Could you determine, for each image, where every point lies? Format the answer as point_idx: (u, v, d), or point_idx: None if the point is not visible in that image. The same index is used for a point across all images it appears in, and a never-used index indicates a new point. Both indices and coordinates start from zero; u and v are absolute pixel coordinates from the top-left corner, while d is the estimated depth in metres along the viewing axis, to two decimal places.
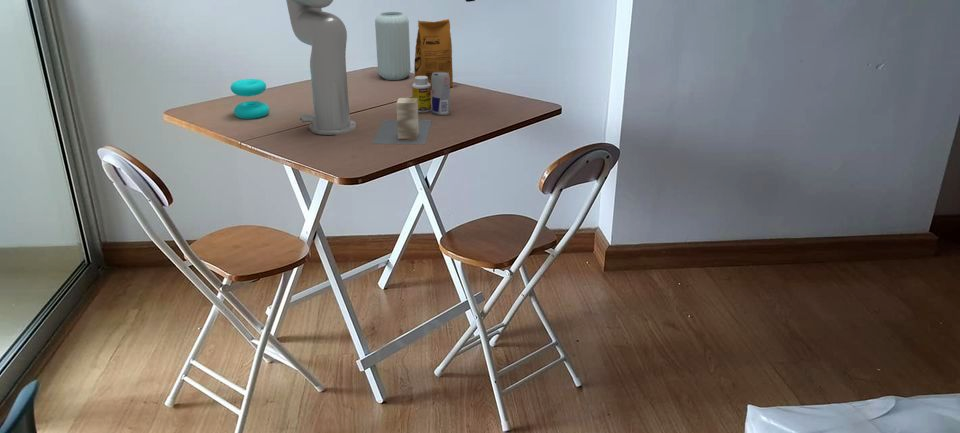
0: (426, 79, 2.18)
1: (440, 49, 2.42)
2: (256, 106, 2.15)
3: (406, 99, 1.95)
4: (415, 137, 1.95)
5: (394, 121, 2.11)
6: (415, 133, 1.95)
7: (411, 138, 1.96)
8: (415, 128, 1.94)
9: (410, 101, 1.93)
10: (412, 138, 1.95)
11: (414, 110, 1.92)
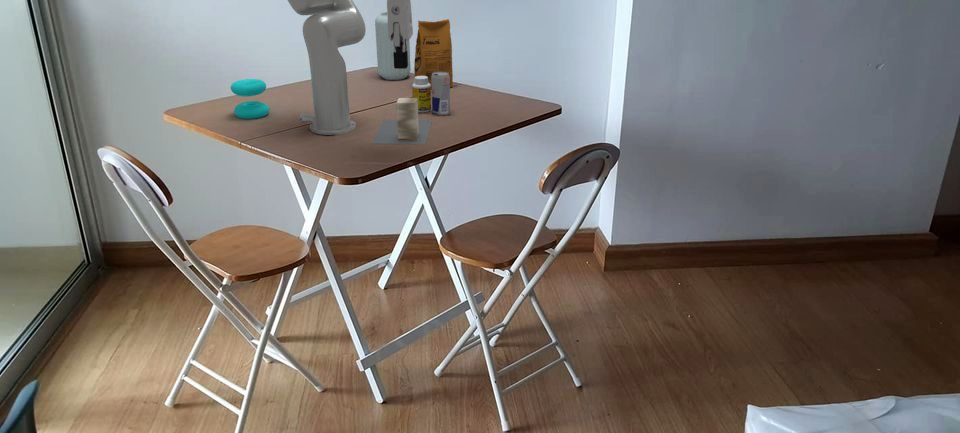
0: (426, 79, 2.18)
1: (440, 49, 2.42)
2: (256, 106, 2.15)
3: (406, 99, 1.95)
4: (415, 137, 1.95)
5: (394, 121, 2.11)
6: (415, 133, 1.95)
7: (411, 138, 1.96)
8: (415, 128, 1.94)
9: (410, 101, 1.93)
10: (412, 138, 1.95)
11: (414, 110, 1.92)
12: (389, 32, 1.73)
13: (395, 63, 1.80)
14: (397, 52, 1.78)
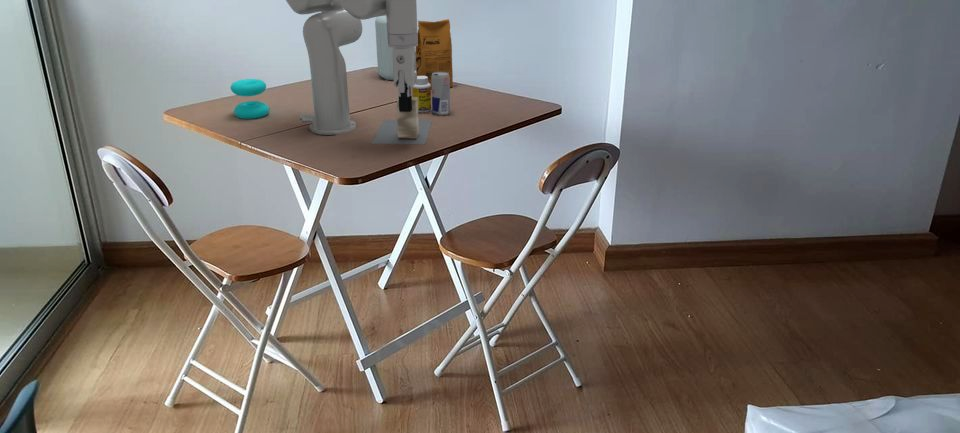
0: (426, 79, 2.18)
1: (440, 49, 2.42)
2: (256, 106, 2.15)
3: None
4: (415, 135, 1.95)
5: (394, 121, 2.11)
6: (415, 131, 1.95)
7: (410, 137, 1.95)
8: (415, 126, 1.94)
9: None
10: (412, 137, 1.95)
11: (414, 108, 1.93)
12: (394, 79, 1.83)
13: (400, 107, 1.90)
14: (402, 97, 1.88)
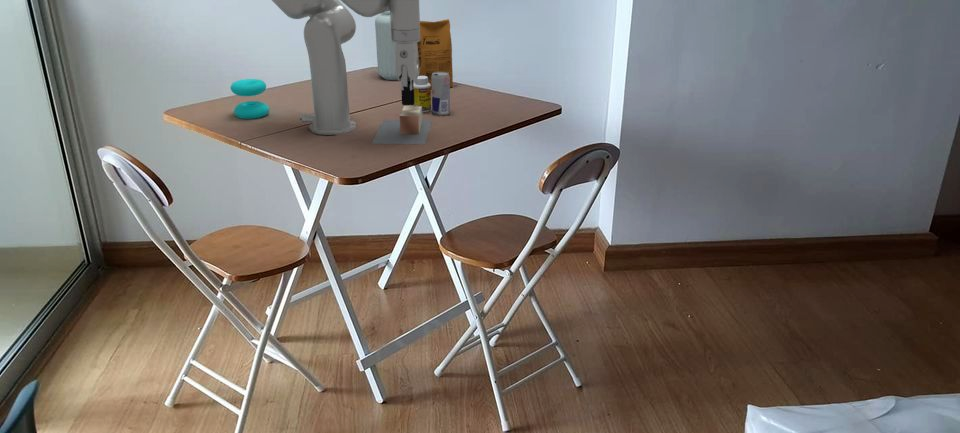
0: (426, 79, 2.18)
1: (440, 49, 2.42)
2: (256, 106, 2.15)
3: None
4: (417, 115, 1.99)
5: (394, 121, 2.11)
6: (417, 114, 2.00)
7: (412, 116, 1.98)
8: (418, 113, 2.01)
9: None
10: (414, 115, 1.98)
11: (419, 108, 2.05)
12: (397, 73, 1.89)
13: (403, 100, 1.96)
14: (405, 90, 1.94)
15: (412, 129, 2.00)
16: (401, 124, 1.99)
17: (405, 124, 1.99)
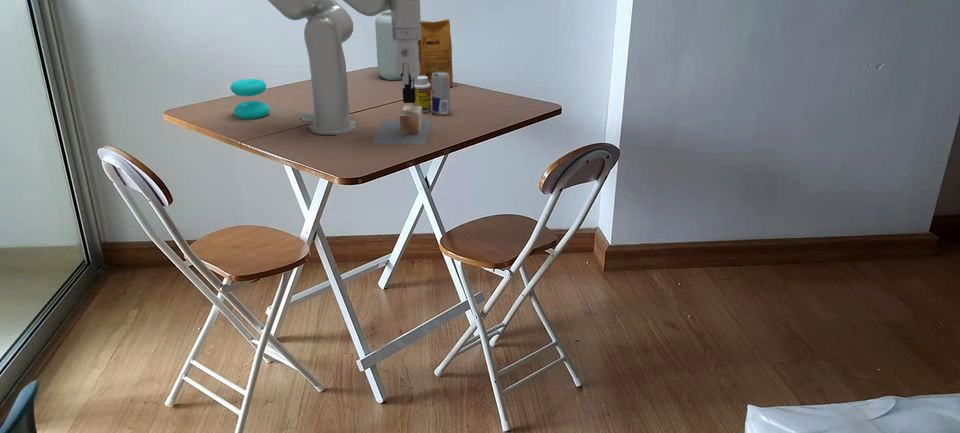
0: (426, 79, 2.18)
1: (440, 49, 2.42)
2: (256, 106, 2.15)
3: None
4: (417, 115, 1.99)
5: (394, 121, 2.11)
6: (417, 114, 2.00)
7: (412, 116, 1.98)
8: (418, 113, 2.01)
9: None
10: (414, 115, 1.98)
11: (419, 108, 2.05)
12: (399, 72, 1.91)
13: (404, 98, 1.98)
14: (406, 88, 1.96)
15: (412, 129, 2.00)
16: (401, 124, 1.99)
17: (405, 124, 1.99)
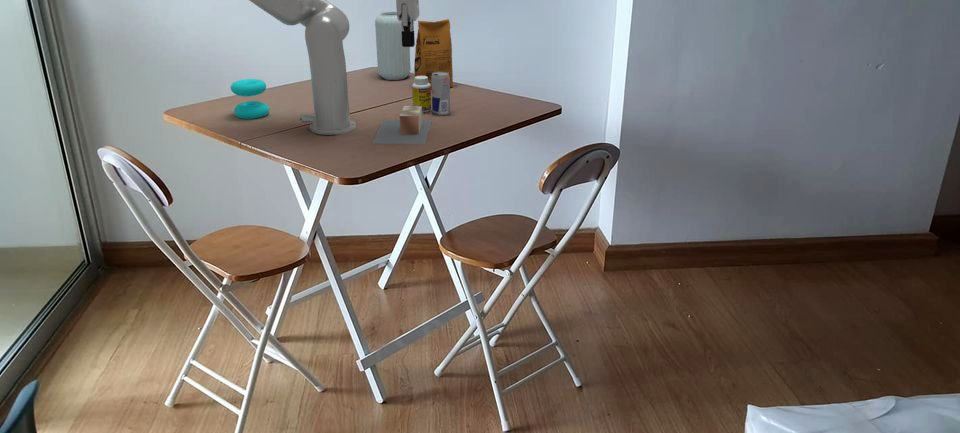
0: (426, 79, 2.18)
1: (440, 49, 2.42)
2: (256, 106, 2.15)
3: None
4: (417, 115, 1.99)
5: (394, 121, 2.11)
6: (417, 114, 2.00)
7: (412, 116, 1.98)
8: (418, 113, 2.01)
9: None
10: (414, 115, 1.98)
11: (419, 108, 2.05)
12: (397, 13, 1.88)
13: (403, 42, 1.95)
14: (405, 31, 1.93)
15: (412, 129, 2.00)
16: (401, 124, 1.99)
17: (405, 124, 1.99)
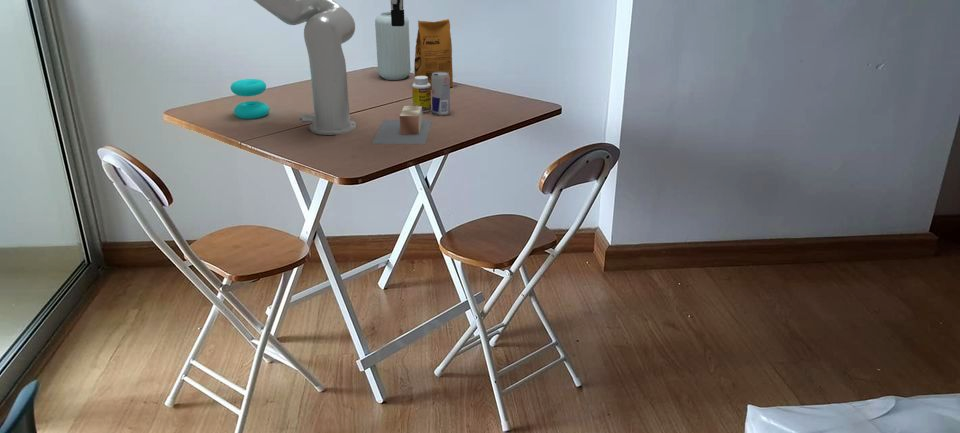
0: (426, 79, 2.18)
1: (440, 49, 2.42)
2: (256, 106, 2.15)
3: None
4: (417, 115, 1.99)
5: (394, 121, 2.11)
6: (417, 114, 2.00)
7: (412, 116, 1.98)
8: (418, 113, 2.01)
9: None
10: (414, 115, 1.98)
11: (419, 108, 2.05)
12: None
13: (392, 21, 1.89)
14: (394, 10, 1.87)
15: (412, 129, 2.00)
16: (401, 124, 1.99)
17: (405, 124, 1.99)
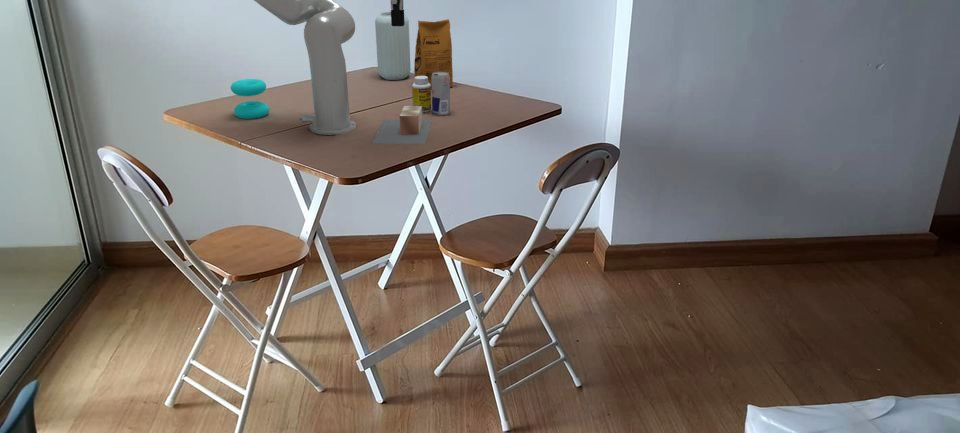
0: (426, 79, 2.18)
1: (440, 49, 2.42)
2: (256, 106, 2.15)
3: None
4: (417, 115, 1.99)
5: (394, 121, 2.11)
6: (417, 114, 2.00)
7: (412, 116, 1.98)
8: (418, 113, 2.01)
9: None
10: (414, 115, 1.98)
11: (419, 108, 2.05)
12: None
13: (392, 21, 1.89)
14: (394, 10, 1.87)
15: (412, 129, 2.00)
16: (401, 124, 1.99)
17: (405, 124, 1.99)
